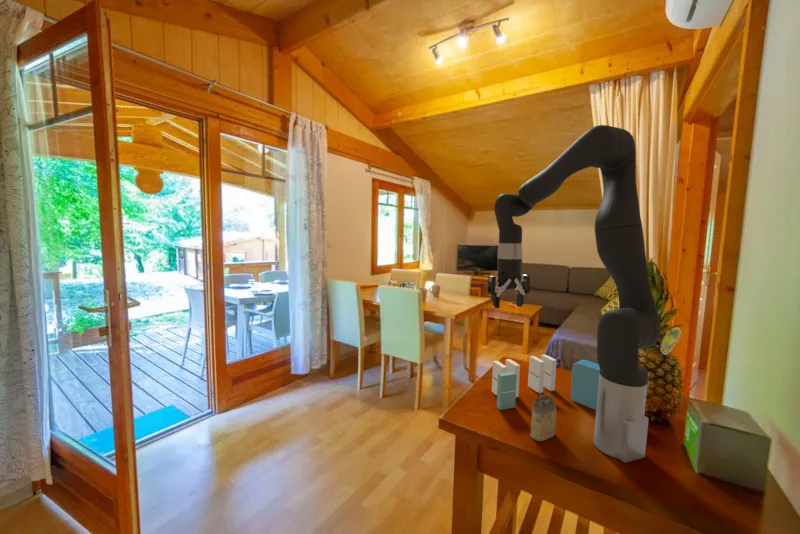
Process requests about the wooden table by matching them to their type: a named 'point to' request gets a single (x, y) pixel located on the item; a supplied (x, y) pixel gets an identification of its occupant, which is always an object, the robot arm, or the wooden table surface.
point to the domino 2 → (515, 368)
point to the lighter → (543, 418)
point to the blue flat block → (585, 383)
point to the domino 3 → (506, 390)
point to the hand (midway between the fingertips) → (508, 307)
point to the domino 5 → (549, 372)
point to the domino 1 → (497, 370)
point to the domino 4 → (536, 374)
